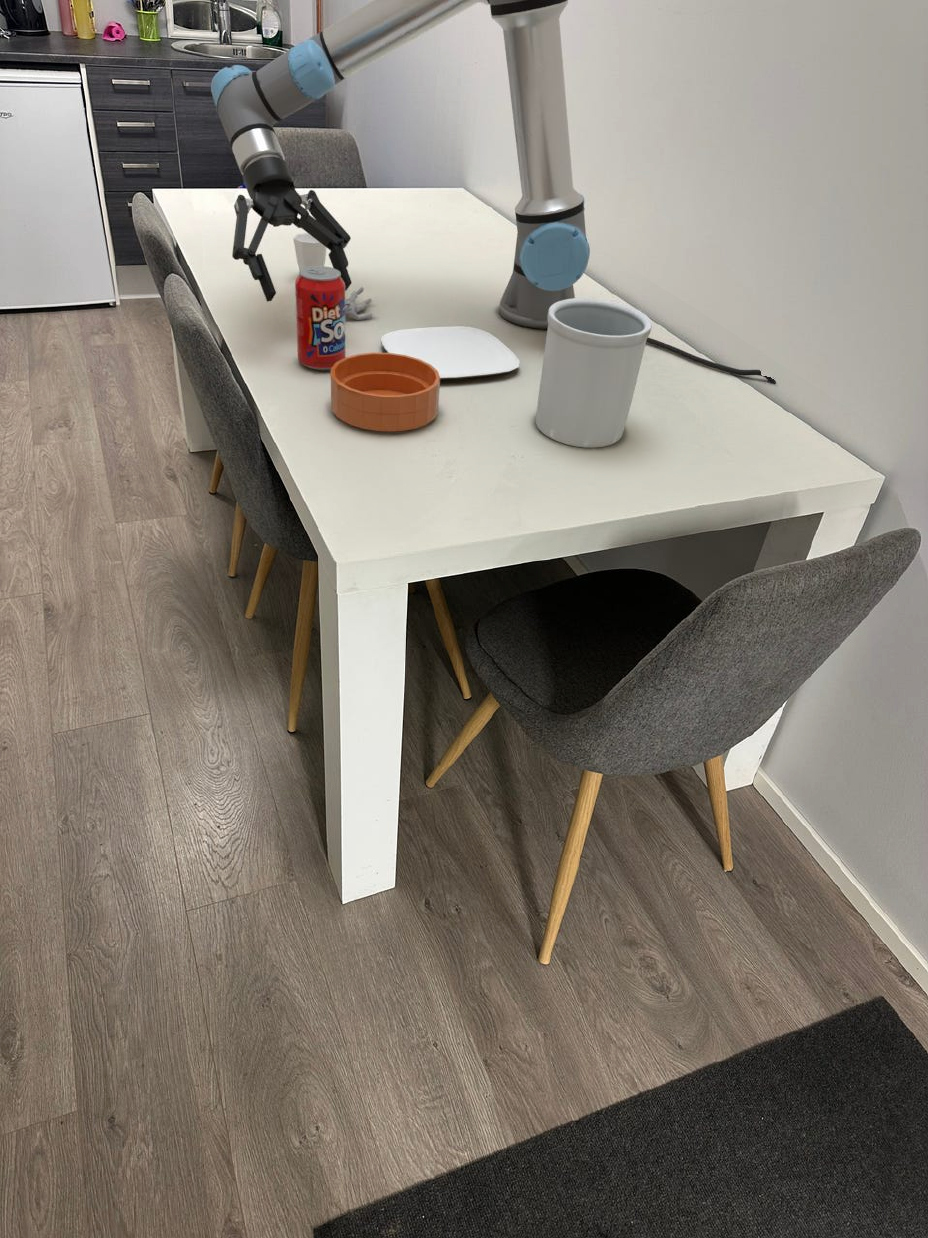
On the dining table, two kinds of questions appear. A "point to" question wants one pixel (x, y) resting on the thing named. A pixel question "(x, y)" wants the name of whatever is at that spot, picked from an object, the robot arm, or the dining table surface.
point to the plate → (453, 350)
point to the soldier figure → (356, 306)
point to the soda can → (320, 317)
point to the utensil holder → (590, 370)
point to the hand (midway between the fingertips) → (310, 292)
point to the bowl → (384, 391)
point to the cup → (309, 251)
